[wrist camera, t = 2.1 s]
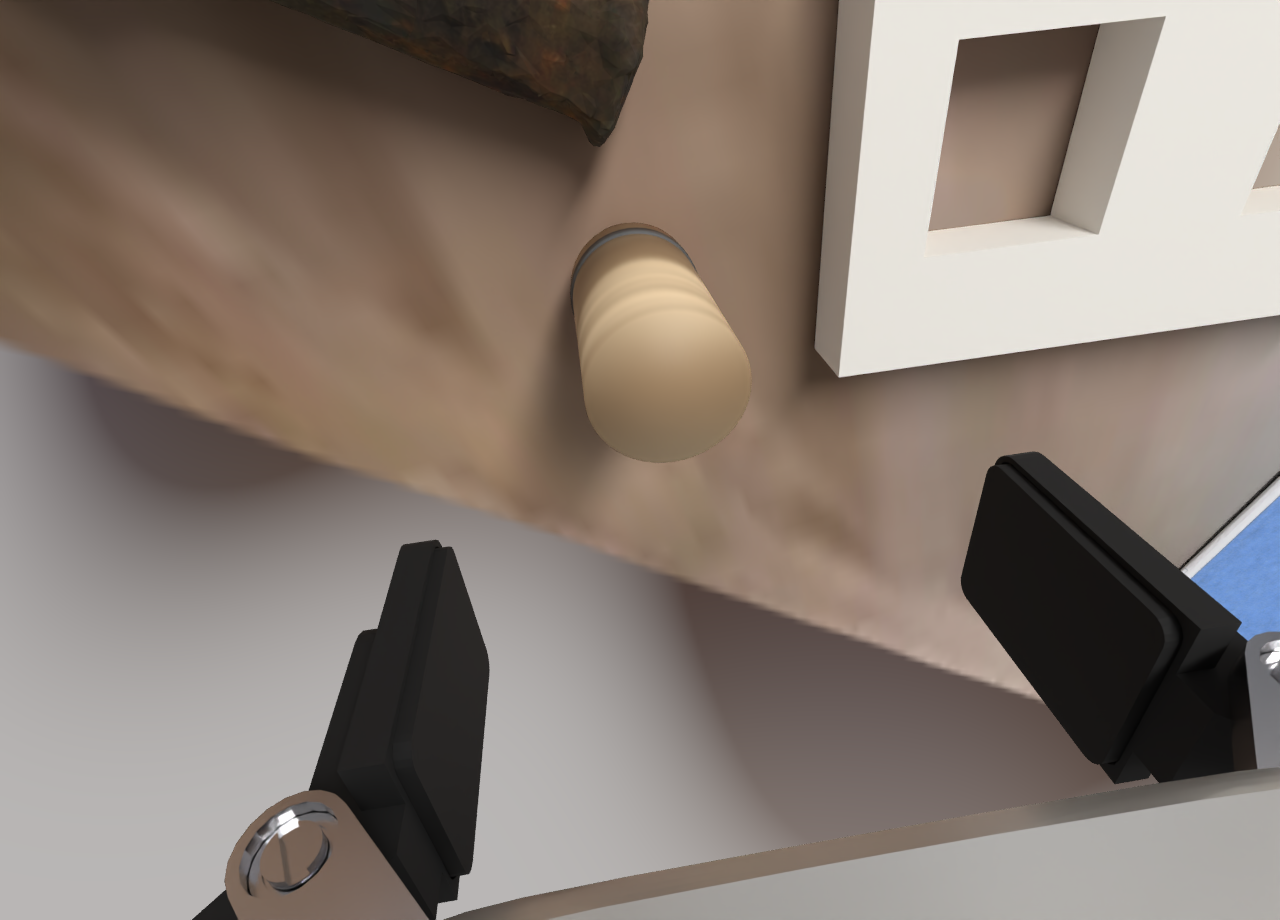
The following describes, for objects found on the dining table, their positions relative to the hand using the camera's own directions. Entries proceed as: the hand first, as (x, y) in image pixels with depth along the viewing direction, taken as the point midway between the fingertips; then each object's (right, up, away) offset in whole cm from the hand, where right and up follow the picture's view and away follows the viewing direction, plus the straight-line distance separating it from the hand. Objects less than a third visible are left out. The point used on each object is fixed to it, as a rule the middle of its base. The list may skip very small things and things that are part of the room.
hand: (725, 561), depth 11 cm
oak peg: (-2, +8, +11) cm, 14 cm away
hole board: (+16, +13, +11) cm, 23 cm away
